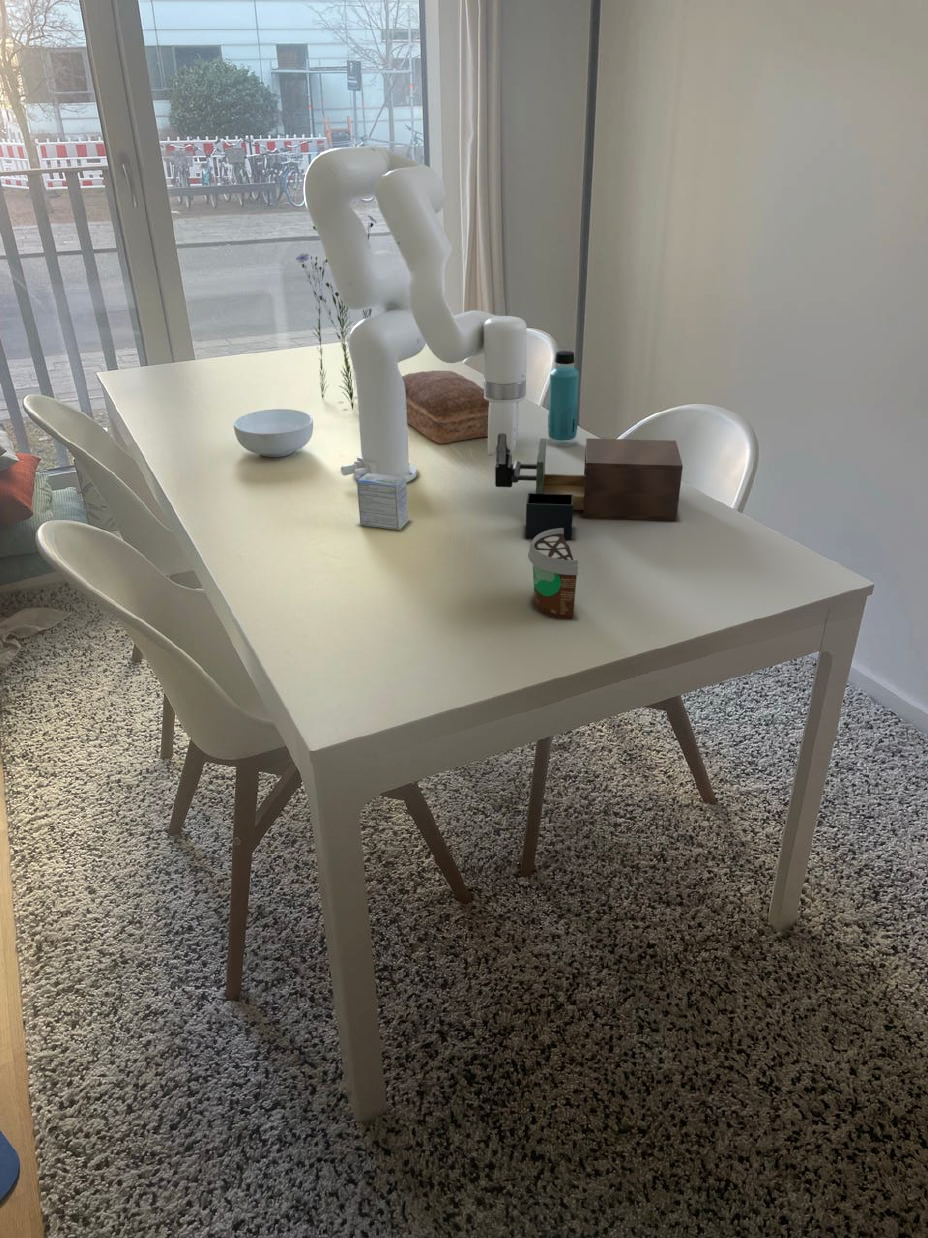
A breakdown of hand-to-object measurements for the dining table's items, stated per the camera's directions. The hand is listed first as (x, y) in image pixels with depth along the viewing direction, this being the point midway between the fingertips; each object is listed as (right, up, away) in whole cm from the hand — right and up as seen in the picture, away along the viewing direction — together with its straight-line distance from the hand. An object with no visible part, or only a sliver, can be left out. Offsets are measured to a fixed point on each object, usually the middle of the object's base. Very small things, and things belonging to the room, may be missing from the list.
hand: (504, 485), depth 171 cm
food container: (+5, -23, -34) cm, 42 cm away
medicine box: (-22, -8, -7) cm, 25 cm away
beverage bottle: (+14, +14, +31) cm, 37 cm away
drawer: (+12, -3, 0) cm, 13 cm away
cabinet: (+23, -4, -1) cm, 23 cm away
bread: (-13, +21, +44) cm, 50 cm away
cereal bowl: (-49, +11, +28) cm, 57 cm away
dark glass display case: (+7, -10, -11) cm, 17 cm away
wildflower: (-35, +29, +59) cm, 75 cm away
